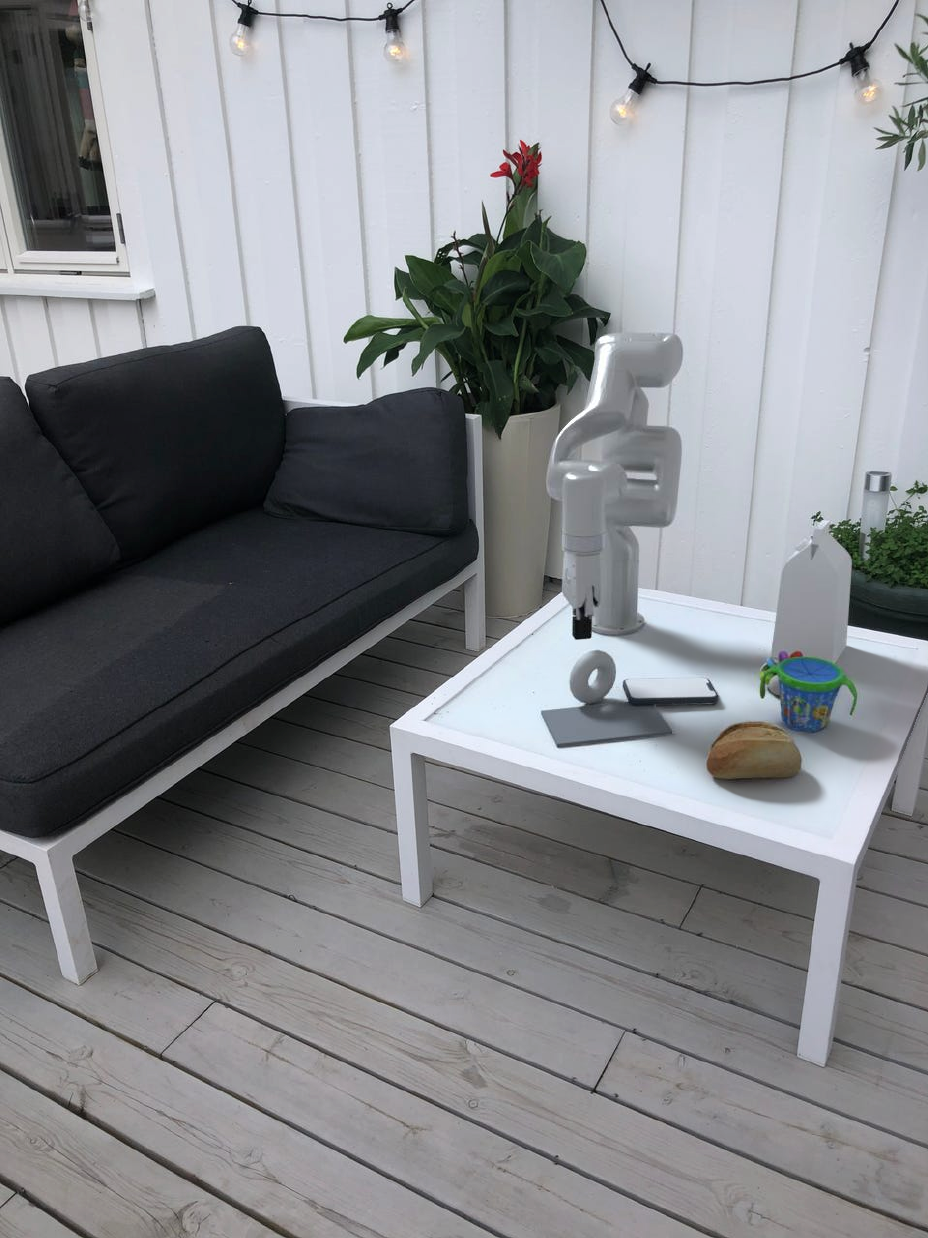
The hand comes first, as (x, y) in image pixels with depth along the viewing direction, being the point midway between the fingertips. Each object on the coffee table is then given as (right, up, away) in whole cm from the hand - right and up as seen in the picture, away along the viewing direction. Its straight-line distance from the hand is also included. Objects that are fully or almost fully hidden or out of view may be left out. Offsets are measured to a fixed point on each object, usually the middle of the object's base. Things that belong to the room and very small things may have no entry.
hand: (581, 637), depth 184 cm
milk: (+46, -3, +14) cm, 49 cm away
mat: (+3, -15, -10) cm, 18 cm away
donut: (+2, -12, -2) cm, 12 cm away
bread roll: (+24, -21, -26) cm, 41 cm away
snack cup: (+37, -15, -12) cm, 41 cm away
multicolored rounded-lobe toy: (+37, -9, +1) cm, 39 cm away
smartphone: (+16, -11, -2) cm, 19 cm away
